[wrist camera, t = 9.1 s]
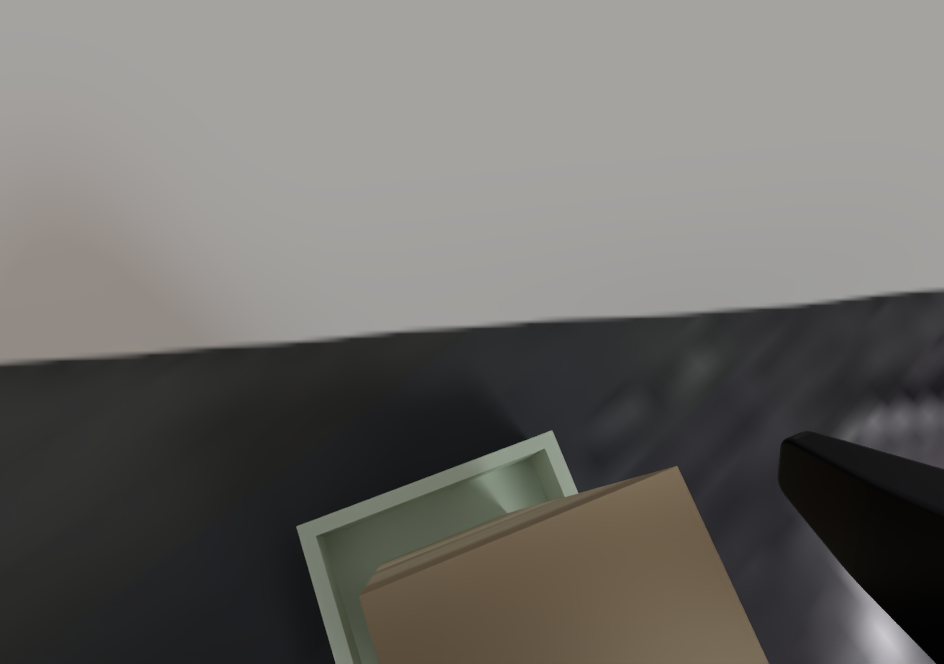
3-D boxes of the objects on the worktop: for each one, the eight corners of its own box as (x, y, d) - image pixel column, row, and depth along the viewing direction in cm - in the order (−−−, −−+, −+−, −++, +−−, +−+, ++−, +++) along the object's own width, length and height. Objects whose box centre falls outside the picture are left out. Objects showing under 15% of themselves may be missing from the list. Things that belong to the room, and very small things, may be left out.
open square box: (629, 681, 18) (665, 703, 16) (388, 799, 17) (387, 843, 14) (533, 444, 20) (552, 430, 18) (308, 529, 19) (296, 526, 16)
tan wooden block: (558, 649, 18) (846, 830, 6) (427, 710, 17) (494, 1042, 6) (507, 513, 19) (677, 466, 8) (380, 563, 18) (359, 596, 7)
